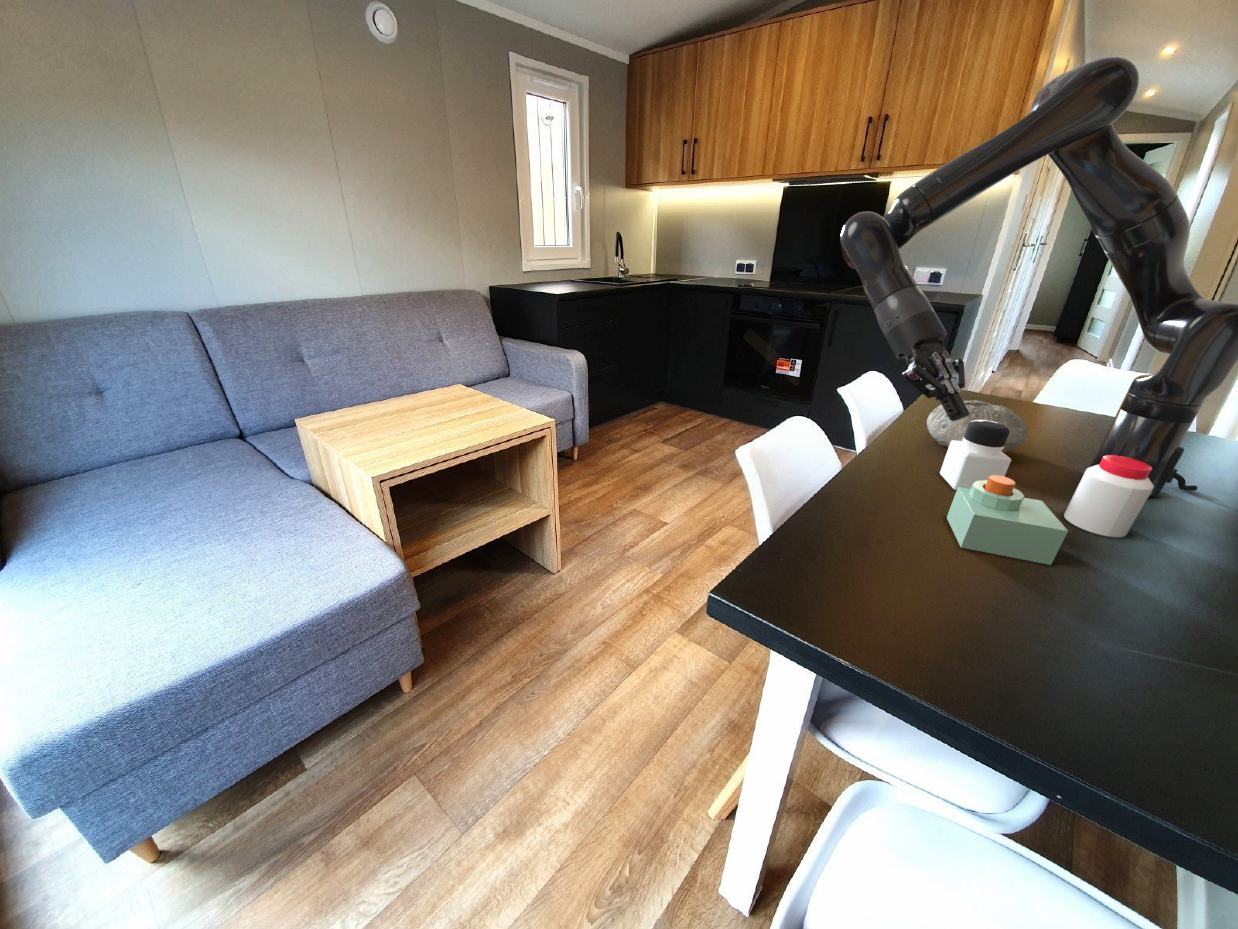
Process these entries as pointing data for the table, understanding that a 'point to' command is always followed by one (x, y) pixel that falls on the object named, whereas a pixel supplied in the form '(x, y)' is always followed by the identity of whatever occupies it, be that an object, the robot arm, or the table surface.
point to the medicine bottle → (976, 455)
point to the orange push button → (1000, 485)
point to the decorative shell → (978, 410)
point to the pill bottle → (1110, 496)
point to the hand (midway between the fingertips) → (960, 418)
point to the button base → (1005, 524)
